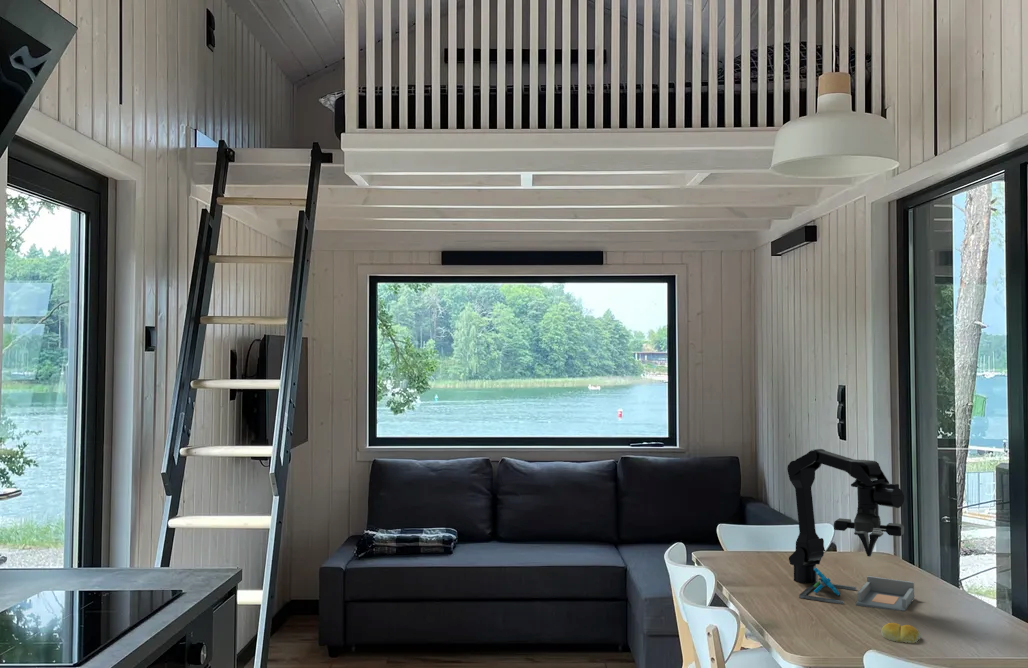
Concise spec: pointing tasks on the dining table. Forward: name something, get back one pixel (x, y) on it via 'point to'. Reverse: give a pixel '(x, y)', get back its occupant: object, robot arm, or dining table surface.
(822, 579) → the gear
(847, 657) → the dining table surface
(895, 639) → the bread roll
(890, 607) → the grey open tray
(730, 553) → the dining table surface
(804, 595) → the frame
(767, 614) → the dining table surface
